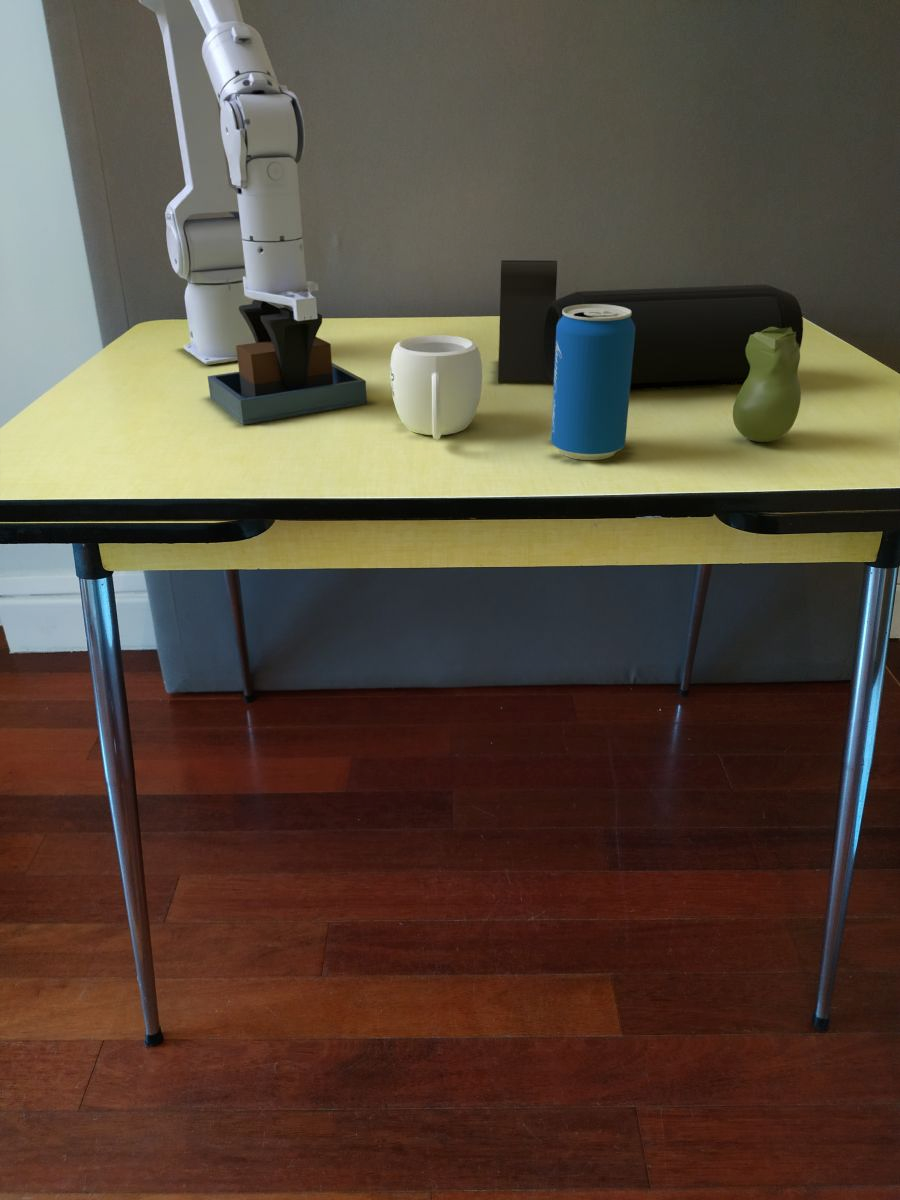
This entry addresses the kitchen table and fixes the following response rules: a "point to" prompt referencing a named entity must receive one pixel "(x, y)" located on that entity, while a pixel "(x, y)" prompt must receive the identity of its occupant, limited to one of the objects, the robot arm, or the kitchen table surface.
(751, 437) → the pear
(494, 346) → the kitchen table surface
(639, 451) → the kitchen table surface
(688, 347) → the portable speaker
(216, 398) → the tray
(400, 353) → the mug
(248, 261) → the robot arm
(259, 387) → the eraser
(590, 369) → the beverage can
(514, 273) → the phone stand
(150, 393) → the kitchen table surface
